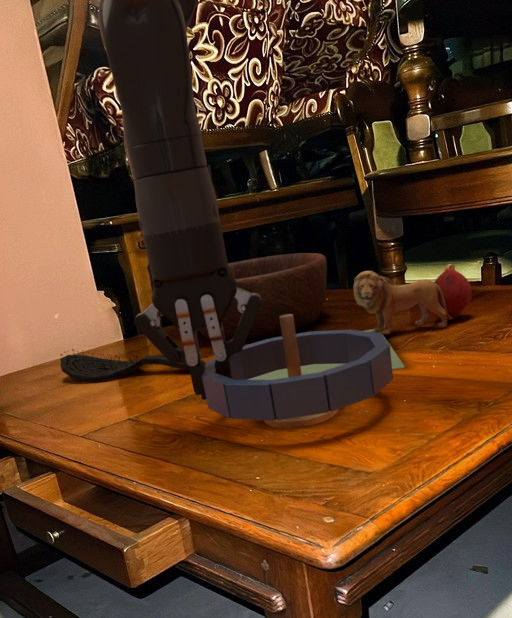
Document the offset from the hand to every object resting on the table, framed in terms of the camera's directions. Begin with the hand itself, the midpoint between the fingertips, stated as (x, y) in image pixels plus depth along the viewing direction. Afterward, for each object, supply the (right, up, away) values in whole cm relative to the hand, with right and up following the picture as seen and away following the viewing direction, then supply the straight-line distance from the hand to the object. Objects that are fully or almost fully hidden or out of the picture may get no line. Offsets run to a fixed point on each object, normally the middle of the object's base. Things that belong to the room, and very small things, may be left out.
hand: (215, 395), depth 72 cm
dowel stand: (+9, -2, +1) cm, 9 cm away
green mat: (+11, +6, +21) cm, 25 cm away
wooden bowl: (+5, +16, +48) cm, 50 cm away
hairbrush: (-14, +6, +32) cm, 35 cm away
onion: (+33, +14, +31) cm, 47 cm away
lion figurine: (+25, +12, +27) cm, 39 cm away
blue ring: (+9, +1, 0) cm, 9 cm away
